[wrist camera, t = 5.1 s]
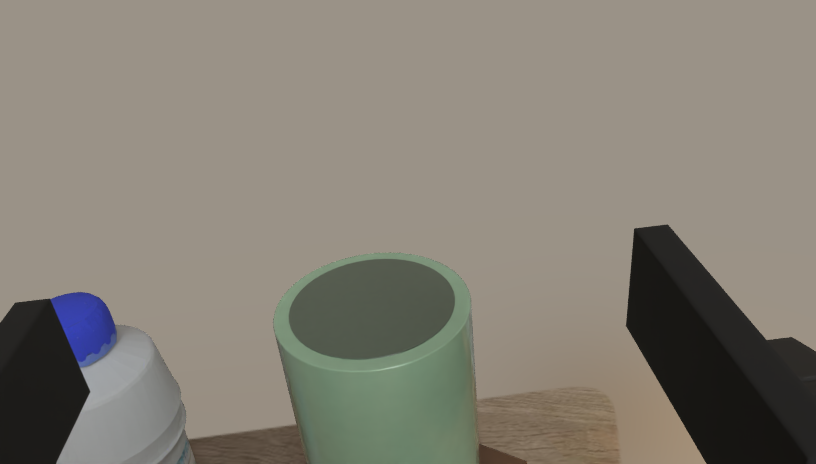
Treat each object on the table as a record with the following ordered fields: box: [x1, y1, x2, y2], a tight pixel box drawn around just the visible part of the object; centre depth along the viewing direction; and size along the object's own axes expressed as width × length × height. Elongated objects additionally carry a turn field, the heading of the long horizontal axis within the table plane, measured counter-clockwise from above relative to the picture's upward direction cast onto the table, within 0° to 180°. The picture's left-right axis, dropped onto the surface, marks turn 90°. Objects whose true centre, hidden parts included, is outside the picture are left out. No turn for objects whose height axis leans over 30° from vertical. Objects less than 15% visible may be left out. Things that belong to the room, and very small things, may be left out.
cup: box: [273, 253, 480, 464], centre depth 29 cm, size 8×8×11 cm
